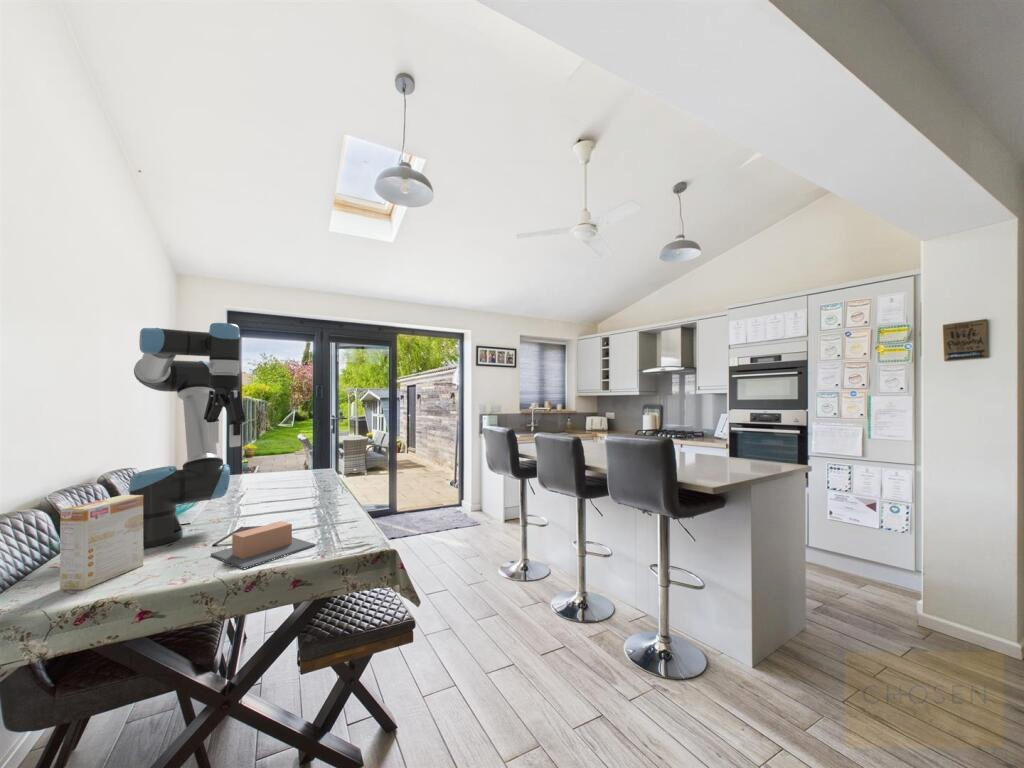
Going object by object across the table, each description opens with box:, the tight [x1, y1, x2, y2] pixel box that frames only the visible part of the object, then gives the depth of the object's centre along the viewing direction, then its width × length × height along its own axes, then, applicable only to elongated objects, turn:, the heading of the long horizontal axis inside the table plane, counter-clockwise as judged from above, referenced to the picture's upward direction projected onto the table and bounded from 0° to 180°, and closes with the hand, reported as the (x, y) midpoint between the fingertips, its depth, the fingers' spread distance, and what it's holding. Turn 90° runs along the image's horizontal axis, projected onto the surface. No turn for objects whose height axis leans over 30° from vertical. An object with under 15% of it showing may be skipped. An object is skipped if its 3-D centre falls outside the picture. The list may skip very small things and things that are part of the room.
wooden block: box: [231, 520, 293, 559], centre depth 124 cm, size 6×6×14 cm
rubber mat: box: [210, 536, 316, 569], centre depth 124 cm, size 20×20×1 cm
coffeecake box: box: [59, 494, 144, 591], centre depth 108 cm, size 15×7×20 cm, turn 174°
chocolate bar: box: [211, 525, 262, 547], centre depth 138 cm, size 9×1×18 cm
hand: (223, 444), depth 125 cm, fingers open, 13 cm apart
